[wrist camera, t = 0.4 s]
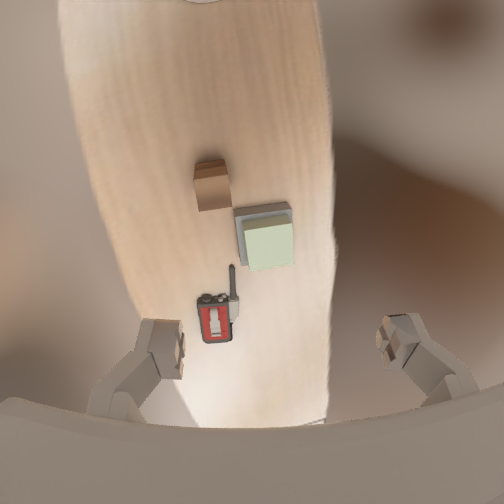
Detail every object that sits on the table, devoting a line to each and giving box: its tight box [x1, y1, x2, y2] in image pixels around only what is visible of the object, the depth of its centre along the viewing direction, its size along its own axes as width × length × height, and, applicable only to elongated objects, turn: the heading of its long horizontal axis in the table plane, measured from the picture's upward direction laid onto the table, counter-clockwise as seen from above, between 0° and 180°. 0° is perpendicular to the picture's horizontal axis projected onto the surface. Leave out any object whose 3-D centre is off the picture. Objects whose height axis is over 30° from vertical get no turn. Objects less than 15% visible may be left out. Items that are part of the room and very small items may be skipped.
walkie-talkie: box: [197, 266, 239, 344], centre depth 67 cm, size 9×4×20 cm
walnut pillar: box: [194, 160, 232, 212], centre depth 50 cm, size 5×5×10 cm
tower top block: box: [242, 214, 294, 272], centre depth 56 cm, size 8×8×4 cm
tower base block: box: [233, 202, 293, 266], centre depth 60 cm, size 10×10×4 cm
